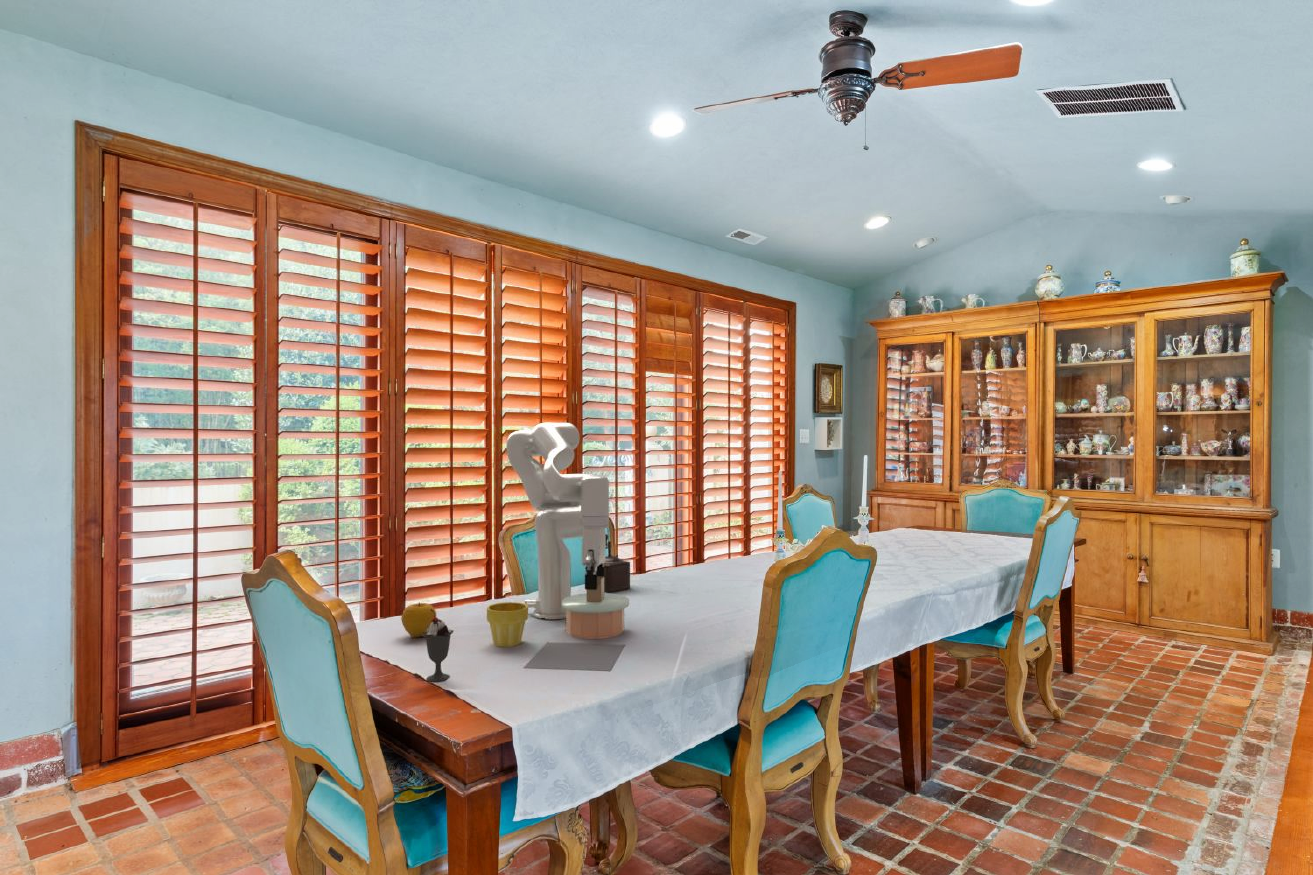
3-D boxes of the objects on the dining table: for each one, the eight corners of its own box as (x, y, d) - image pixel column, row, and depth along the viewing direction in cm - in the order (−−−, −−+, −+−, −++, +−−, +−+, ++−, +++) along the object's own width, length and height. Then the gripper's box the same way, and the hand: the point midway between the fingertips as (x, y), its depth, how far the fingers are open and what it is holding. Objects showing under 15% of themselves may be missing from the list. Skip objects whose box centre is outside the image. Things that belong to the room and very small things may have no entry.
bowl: (561, 639, 185) (561, 610, 185) (574, 624, 200) (574, 597, 200) (618, 641, 184) (618, 612, 184) (627, 626, 198) (627, 599, 198)
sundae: (425, 673, 159) (425, 606, 159) (456, 672, 160) (456, 605, 160) (418, 683, 153) (418, 613, 153) (450, 682, 153) (450, 613, 153)
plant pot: (535, 640, 185) (535, 603, 185) (515, 652, 175) (514, 612, 175) (500, 637, 188) (500, 600, 188) (478, 648, 178) (478, 609, 178)
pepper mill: (632, 588, 248) (632, 536, 248) (607, 593, 240) (607, 539, 240) (604, 582, 259) (604, 532, 259) (580, 586, 251) (579, 535, 251)
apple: (425, 641, 184) (425, 607, 184) (394, 640, 186) (393, 605, 186) (442, 632, 193) (442, 599, 193) (412, 630, 195) (412, 597, 195)
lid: (554, 612, 184) (554, 584, 184) (570, 596, 202) (570, 571, 202) (623, 613, 182) (623, 585, 182) (633, 597, 200) (633, 572, 200)
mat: (523, 670, 161) (523, 667, 161) (547, 644, 181) (547, 642, 181) (610, 673, 159) (610, 670, 159) (625, 646, 179) (625, 644, 179)
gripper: (588, 517, 201) (588, 578, 201) (573, 525, 184) (573, 592, 184) (614, 518, 200) (614, 579, 200) (602, 526, 183) (602, 593, 183)
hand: (594, 585), depth 192 cm, fingers open, 9 cm apart
